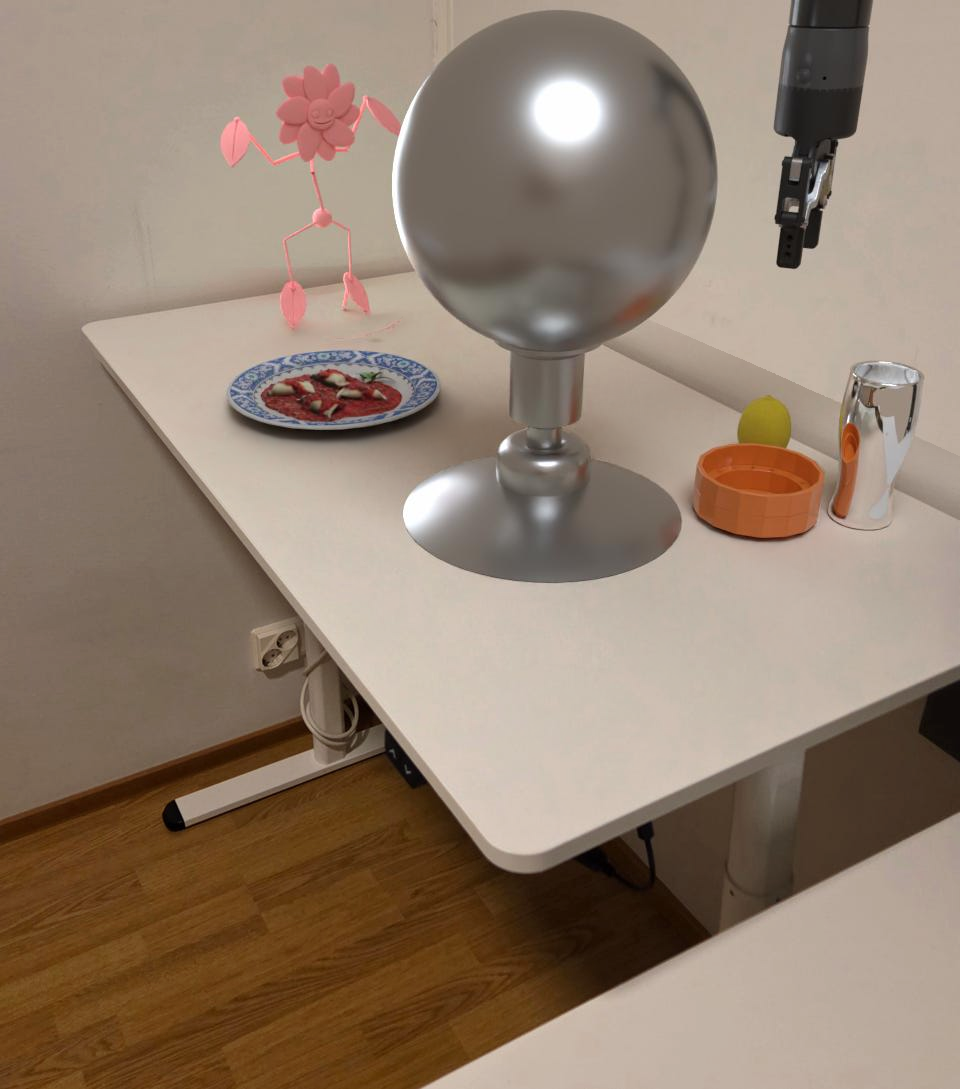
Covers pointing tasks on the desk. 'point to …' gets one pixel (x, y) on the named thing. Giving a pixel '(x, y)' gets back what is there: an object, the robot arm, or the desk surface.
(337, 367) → the ceramic plate
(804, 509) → the bowl
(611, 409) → the desk surface
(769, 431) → the lemon
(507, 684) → the desk surface
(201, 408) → the desk surface
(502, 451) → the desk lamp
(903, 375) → the beer glass
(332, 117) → the figurine
